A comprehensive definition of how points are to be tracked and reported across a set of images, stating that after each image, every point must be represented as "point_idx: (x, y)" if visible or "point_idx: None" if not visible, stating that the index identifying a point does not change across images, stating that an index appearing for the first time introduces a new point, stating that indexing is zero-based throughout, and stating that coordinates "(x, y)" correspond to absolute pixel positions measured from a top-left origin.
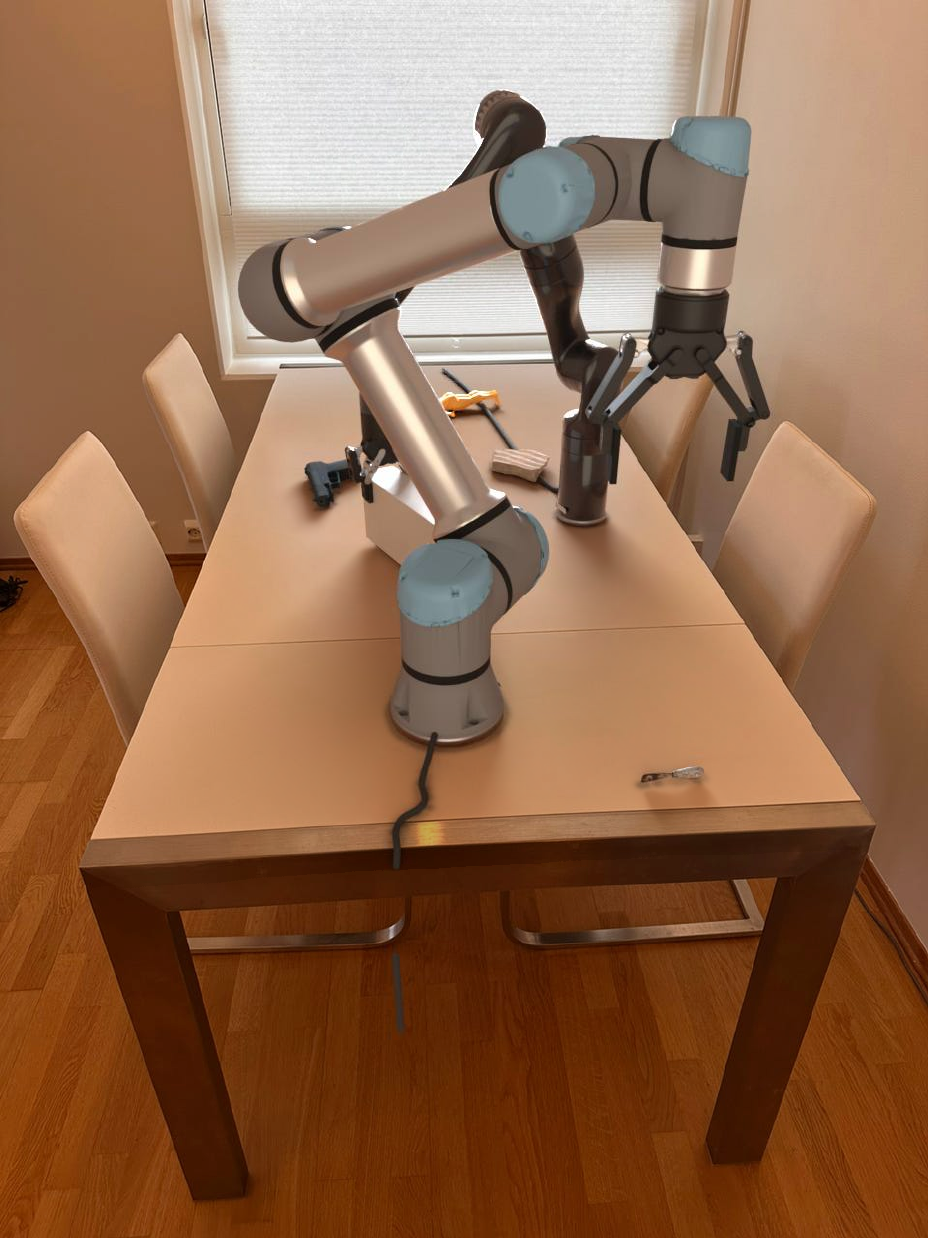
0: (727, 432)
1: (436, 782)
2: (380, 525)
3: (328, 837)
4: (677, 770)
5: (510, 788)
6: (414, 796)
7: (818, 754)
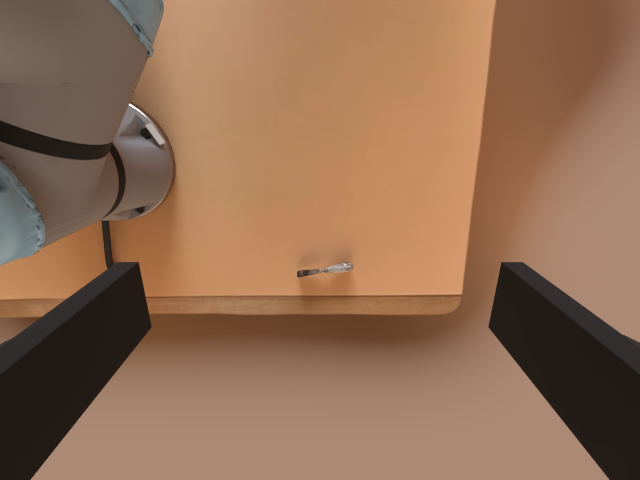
0: (611, 370)
1: (123, 258)
2: None
3: None
4: (329, 270)
5: (187, 268)
6: None
7: (466, 241)
